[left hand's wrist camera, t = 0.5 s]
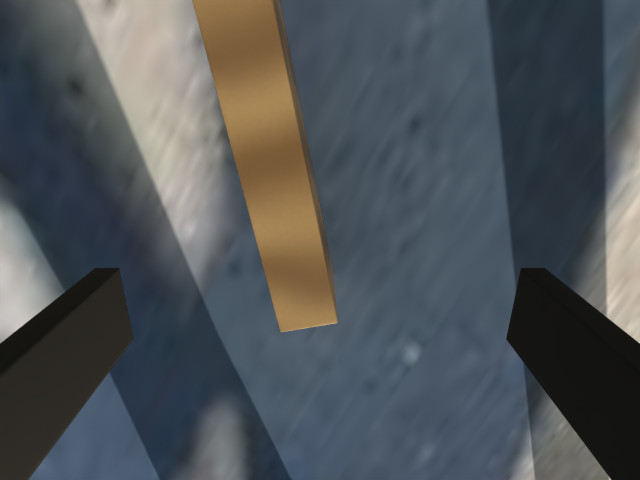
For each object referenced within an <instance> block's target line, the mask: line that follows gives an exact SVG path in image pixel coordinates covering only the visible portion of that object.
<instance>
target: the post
mask: <svg viewBox="0 0 640 480" xmlns="http://www.w3.org/2000/svg"><path fill="white" fill-rule="evenodd" d="M193 4H194V8H195V12H196V16H197V19H198V23H199V27H200V31H201V34H202V38H203V42H204V46H205V49H206V53H207V57H208V61H209V64H210V68H211V72H212V76H213V80H214V83H215V87H216V91H217V95H218V98H219V102H220V106H221V110H222V113H223V117H224V121H225V125H226V128H227V132H228V136H229V140H230V144H231V147H232V151H233V155H234V159H235V162H236V166H237V170H238V174H239V177H240V181H241V185H242V189H243V192H244V196H245V200H246V204H247V208H248V211H249V215H250V219H251V223H252V226H253V230H254V234H255V238H256V241H257V245H258V249H259V253H260V256H261V260H262V264H263V268H264V272H265V275H266V279H267V283H268V287H269V290H270V294H271V298H272V302H273V305H274V309H275V313H276V317H277V320H278V324H279V328H280V331H281V332H285V331H291V330H297V329H303V328H309V327H315V326H321V325H327V324H333V323H337V322H338V320H337V309H336V298H335V286H334V275H333V269H332V264H331V259H330V254H329V249H328V244H327V238H326V233H325V228H324V223H323V218H322V213H321V208H320V203H319V198H318V193H317V188H316V183H315V178H314V172H313V167H312V162H311V157H310V152H309V147H308V142H307V137H306V132H305V127H304V122H303V117H302V111H301V106H300V101H299V96H298V91H297V86H296V81H295V76H294V71H293V66H292V61H291V56H290V50H289V45H288V40H287V35H286V30H285V25H284V20H283V15H282V10H281V5H280V0H193Z"/></svg>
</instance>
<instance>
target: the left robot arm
mask: <svg viewBox="0 0 640 480" xmlns="http://www.w3.org/2000/svg"><path fill="white" fill-rule="evenodd" d="M133 339H134V338H133V333H132V329H131V324H130V319H129V314H128V309H127V305H126V300H125V295H124V290H123V285H122V281H121V276H120V271H119V268H95V269H94V270H92V271H91V272H90V273H89V274H87V275H86V276H85V277H84V278H82V279H81V280H80V281H79V282H77V283H76V284H75V285H74V286H72V287H71V288H70V289H69V290H67V291H66V292H65V293H63V294H62V295H61V296H60V297H58V298H57V299H56V300H55V301H53V302H52V303H51V304H50V305H48V306H47V307H46V308H45V309H43V310H42V311H41V312H40V313H38V314H37V315H36V316H34V317H33V318H32V319H31V320H29V321H28V322H27V323H26V324H24V325H23V326H22V327H21V328H19V329H18V330H17V331H16V332H14V333H13V334H12V335H11V336H9V337H8V338H7V339H6V340H4V341H3V342H2V343H0V480H29V478H30V477H31V476H32V474H33V473H34V472H35V470H36V469H37V468H38V466H39V465H40V464H41V462H42V461H43V460H44V458H45V457H46V456H47V454H48V453H49V452H50V450H51V449H52V448H53V446H54V445H55V444H56V442H57V441H58V440H59V438H60V437H61V436H62V434H63V433H64V432H65V430H66V429H67V428H68V426H69V425H70V423H71V422H72V421H73V419H74V418H75V417H76V415H77V414H78V413H79V411H80V410H81V409H82V407H83V406H84V405H85V403H86V402H87V401H88V399H89V398H90V397H91V395H92V394H93V393H94V391H95V390H96V389H97V387H98V386H99V385H100V383H101V382H102V381H103V379H104V378H105V377H106V375H107V374H108V373H109V371H110V370H111V369H112V367H113V366H114V365H115V363H116V362H117V361H118V359H119V358H120V357H121V355H122V354H123V353H124V351H125V350H126V349H127V347H128V346H129V345H130V343H131V342H132V341H133ZM506 339H507V341H508V342H509V343H510V345H511V346H512V347H513V349H514V350H515V351H516V353H517V354H518V355H519V357H520V358H521V359H522V361H523V362H524V363H525V365H526V366H527V367H528V369H529V370H530V371H531V373H532V374H533V375H534V377H535V378H536V379H537V381H538V382H539V383H540V385H541V386H542V387H543V389H544V390H545V391H546V393H547V394H548V395H549V397H550V398H551V399H552V401H553V402H554V403H555V405H556V406H557V407H558V409H559V410H560V411H561V413H562V414H563V415H564V417H565V418H566V419H567V421H568V422H569V423H570V425H571V426H572V428H573V429H574V430H575V432H576V433H577V434H578V436H579V437H580V438H581V440H582V441H583V442H584V444H585V445H586V446H587V448H588V449H589V450H590V452H591V453H592V454H593V456H594V457H595V458H596V460H597V461H598V462H599V464H600V465H601V466H602V468H603V469H604V470H605V472H606V473H607V474H608V476H609V477H610V478H611V480H640V343H638V342H637V341H636V340H634V339H633V338H632V337H631V336H629V335H628V334H627V333H626V332H624V331H623V330H622V329H621V328H619V327H618V326H617V325H616V324H614V323H613V322H612V321H611V320H609V319H608V318H607V317H606V316H604V315H603V314H602V313H600V312H599V311H598V310H597V309H595V308H594V307H593V306H592V305H590V304H589V303H588V302H587V301H585V300H584V299H583V298H582V297H580V296H579V295H578V294H577V293H575V292H574V291H573V290H571V289H570V288H569V287H568V286H566V285H565V284H564V283H563V282H561V281H560V280H559V279H558V278H556V277H555V276H554V275H553V274H551V273H550V272H549V271H548V270H546V269H545V268H521V271H520V276H519V281H518V285H517V290H516V295H515V300H514V305H513V309H512V314H511V319H510V324H509V329H508V333H507V338H506Z"/></svg>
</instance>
